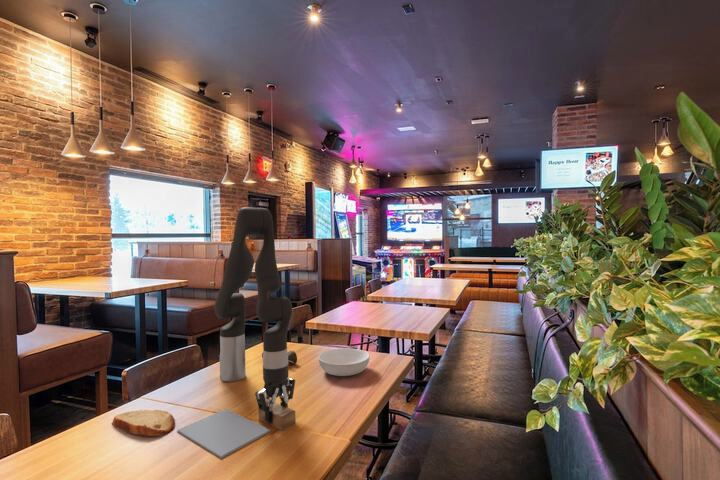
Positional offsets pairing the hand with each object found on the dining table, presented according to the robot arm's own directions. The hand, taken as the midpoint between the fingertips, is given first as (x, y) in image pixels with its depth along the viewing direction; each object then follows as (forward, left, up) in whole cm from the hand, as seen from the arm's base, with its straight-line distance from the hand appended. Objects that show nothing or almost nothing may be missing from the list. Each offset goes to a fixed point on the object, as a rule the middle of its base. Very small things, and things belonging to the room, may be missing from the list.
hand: (276, 418), depth 118 cm
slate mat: (-8, -13, -1) cm, 15 cm away
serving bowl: (-9, +43, -1) cm, 44 cm away
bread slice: (-31, -25, -2) cm, 40 cm away
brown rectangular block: (0, 0, -1) cm, 1 cm away
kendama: (-37, +34, -2) cm, 50 cm away
